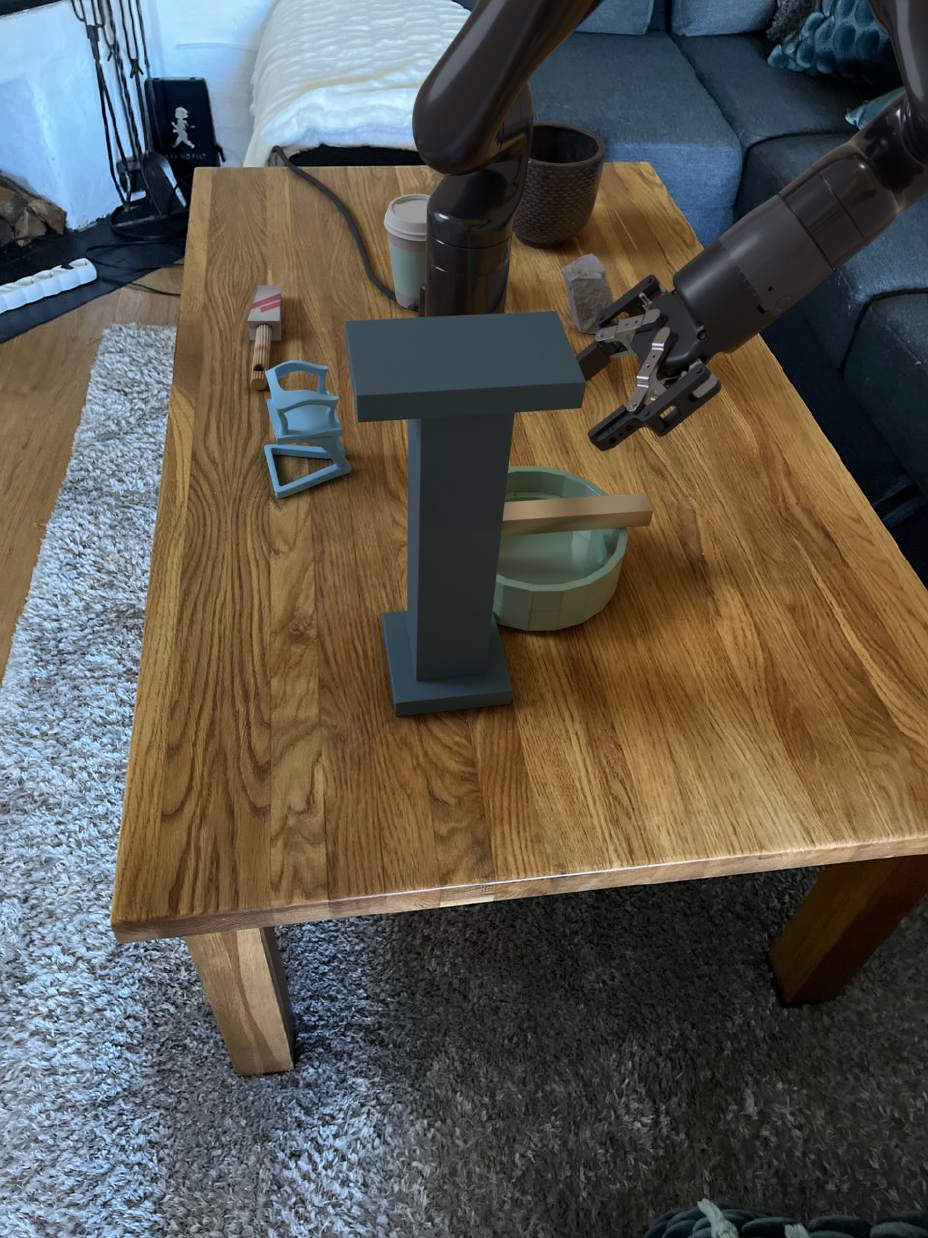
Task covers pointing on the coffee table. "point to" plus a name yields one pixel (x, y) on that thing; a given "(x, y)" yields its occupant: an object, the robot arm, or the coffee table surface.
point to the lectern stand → (456, 481)
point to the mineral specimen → (587, 291)
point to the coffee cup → (407, 245)
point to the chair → (304, 426)
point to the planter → (559, 184)
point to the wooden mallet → (576, 514)
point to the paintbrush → (264, 330)
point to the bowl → (555, 559)
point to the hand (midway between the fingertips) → (581, 410)
